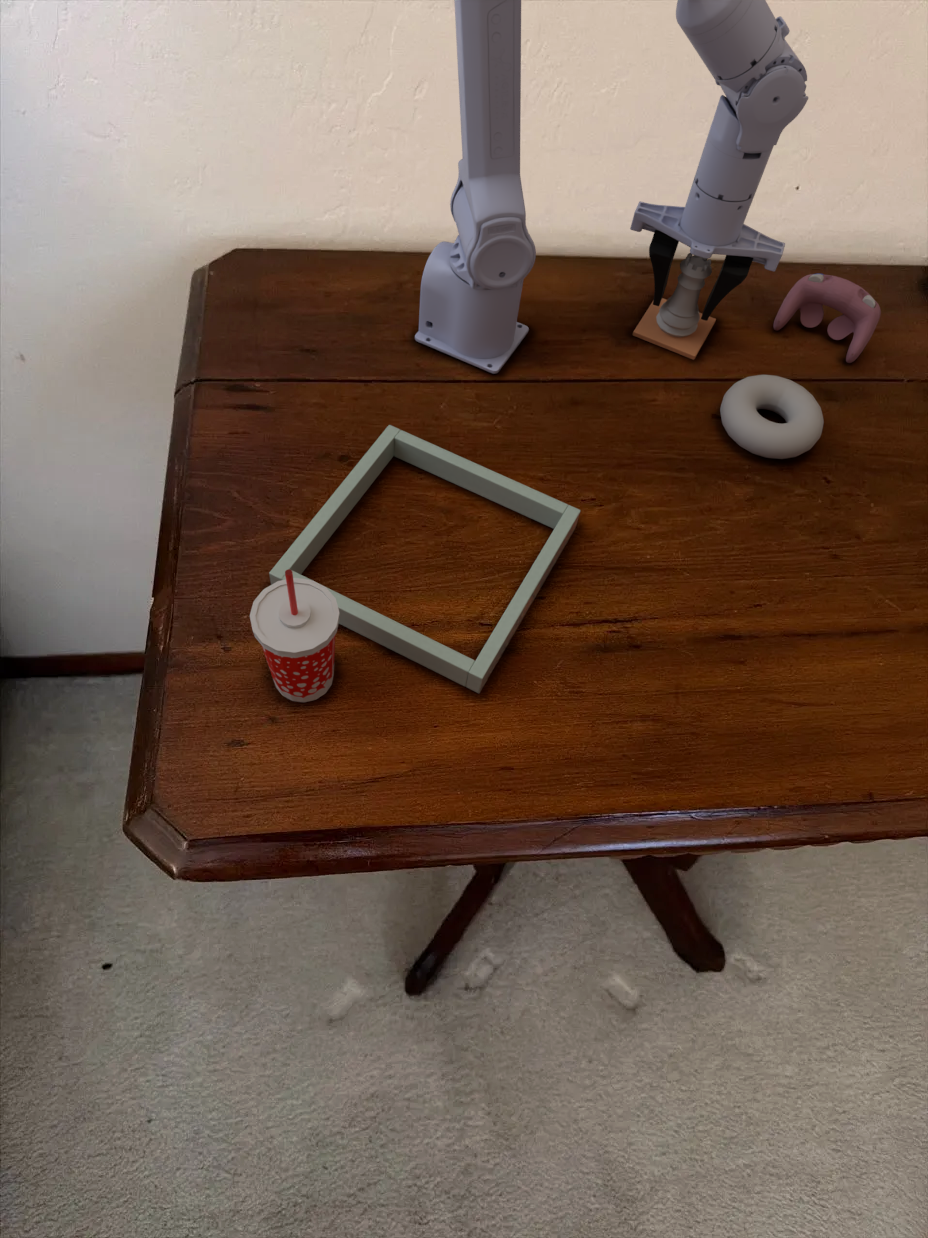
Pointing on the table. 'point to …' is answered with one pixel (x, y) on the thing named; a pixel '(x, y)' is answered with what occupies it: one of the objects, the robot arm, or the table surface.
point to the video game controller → (840, 296)
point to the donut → (764, 433)
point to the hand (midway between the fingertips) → (681, 307)
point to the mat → (679, 345)
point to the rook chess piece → (685, 298)
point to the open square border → (464, 476)
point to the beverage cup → (297, 635)
